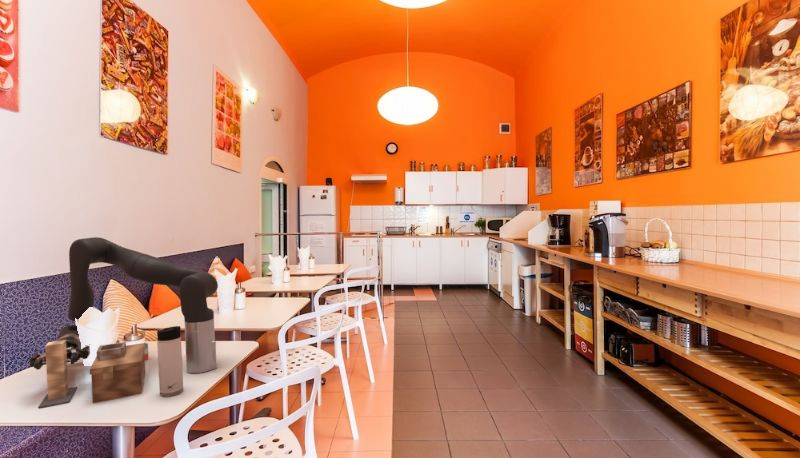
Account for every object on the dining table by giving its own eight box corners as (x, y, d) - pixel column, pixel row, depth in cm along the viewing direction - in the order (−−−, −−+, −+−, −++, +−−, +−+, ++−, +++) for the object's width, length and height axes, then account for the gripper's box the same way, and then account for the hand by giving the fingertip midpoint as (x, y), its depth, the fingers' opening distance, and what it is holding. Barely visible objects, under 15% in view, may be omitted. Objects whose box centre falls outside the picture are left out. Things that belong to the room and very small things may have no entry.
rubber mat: (77, 387, 131) (77, 386, 131) (69, 402, 120) (69, 401, 120) (49, 392, 127) (48, 391, 127) (38, 408, 117) (38, 407, 117)
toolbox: (146, 371, 144) (144, 333, 143) (142, 394, 125) (140, 351, 124) (101, 379, 137) (99, 340, 137) (91, 404, 119) (88, 359, 118)
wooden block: (68, 392, 126) (65, 340, 126) (65, 397, 123) (62, 343, 122) (51, 395, 125) (48, 342, 124) (48, 400, 121) (45, 345, 120)
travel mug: (174, 397, 122) (171, 330, 121) (154, 396, 123) (151, 329, 122) (189, 388, 128) (186, 324, 127) (170, 387, 129) (167, 323, 129)
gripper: (38, 340, 132) (22, 355, 118) (93, 333, 139) (84, 346, 125) (39, 363, 133) (23, 381, 118) (94, 355, 139) (86, 371, 125)
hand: (55, 363), depth 121 cm, fingers open, 7 cm apart
